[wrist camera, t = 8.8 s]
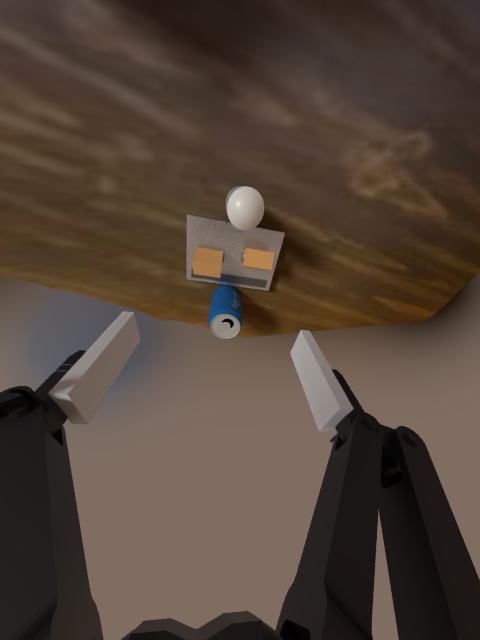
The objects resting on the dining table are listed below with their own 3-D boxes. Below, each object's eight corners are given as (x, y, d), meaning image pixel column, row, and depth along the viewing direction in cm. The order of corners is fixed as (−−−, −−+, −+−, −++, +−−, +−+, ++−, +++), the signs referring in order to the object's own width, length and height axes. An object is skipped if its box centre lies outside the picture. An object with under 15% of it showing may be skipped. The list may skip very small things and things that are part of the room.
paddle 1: (195, 244, 33) (190, 260, 31) (225, 249, 34) (223, 265, 31) (195, 258, 36) (191, 273, 33) (223, 263, 37) (221, 278, 34)
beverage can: (245, 295, 43) (249, 324, 33) (229, 313, 46) (228, 345, 36) (224, 279, 40) (221, 305, 30) (207, 298, 43) (200, 329, 33)
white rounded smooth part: (227, 183, 31) (224, 173, 17) (257, 189, 31) (275, 185, 18) (224, 217, 33) (218, 231, 20) (251, 222, 34) (263, 239, 21)
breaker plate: (189, 213, 33) (186, 214, 31) (282, 231, 35) (285, 233, 33) (188, 275, 40) (186, 279, 38) (267, 287, 42) (268, 291, 40)
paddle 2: (242, 250, 35) (245, 247, 31) (269, 255, 36) (276, 253, 32) (240, 266, 36) (242, 265, 32) (267, 270, 37) (273, 270, 32)
